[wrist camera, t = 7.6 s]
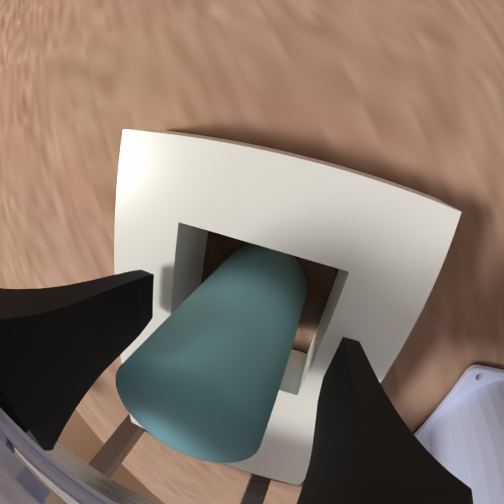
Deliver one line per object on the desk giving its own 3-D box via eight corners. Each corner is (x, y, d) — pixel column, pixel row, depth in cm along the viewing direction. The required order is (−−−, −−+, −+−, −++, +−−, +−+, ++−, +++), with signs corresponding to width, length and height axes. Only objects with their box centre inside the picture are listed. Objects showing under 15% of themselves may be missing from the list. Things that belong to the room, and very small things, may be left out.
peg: (317, 257, 12) (280, 402, 5) (294, 331, 14) (245, 476, 7) (229, 232, 13) (107, 330, 6) (217, 306, 15) (125, 423, 7)
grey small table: (317, 409, 15) (273, 583, 5) (269, 481, 20) (231, 581, 10) (113, 331, 18) (1, 432, 8) (128, 423, 22) (66, 501, 12)
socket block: (434, 196, 10) (461, 212, 7) (306, 451, 17) (298, 485, 14) (164, 130, 12) (123, 129, 10) (151, 395, 19) (131, 421, 16)
